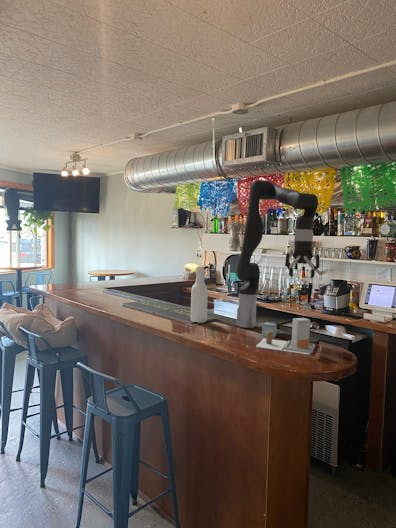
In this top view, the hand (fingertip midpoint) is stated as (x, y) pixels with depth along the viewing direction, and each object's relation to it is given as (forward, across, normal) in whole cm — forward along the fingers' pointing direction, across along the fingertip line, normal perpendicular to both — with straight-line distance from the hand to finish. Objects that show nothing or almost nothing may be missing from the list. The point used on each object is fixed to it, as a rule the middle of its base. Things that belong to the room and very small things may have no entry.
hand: (301, 277), depth 172 cm
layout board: (+30, +4, +8) cm, 32 cm away
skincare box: (+29, -2, +8) cm, 30 cm away
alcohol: (+30, +56, -21) cm, 67 cm away
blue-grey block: (+30, +14, -5) cm, 34 cm away
